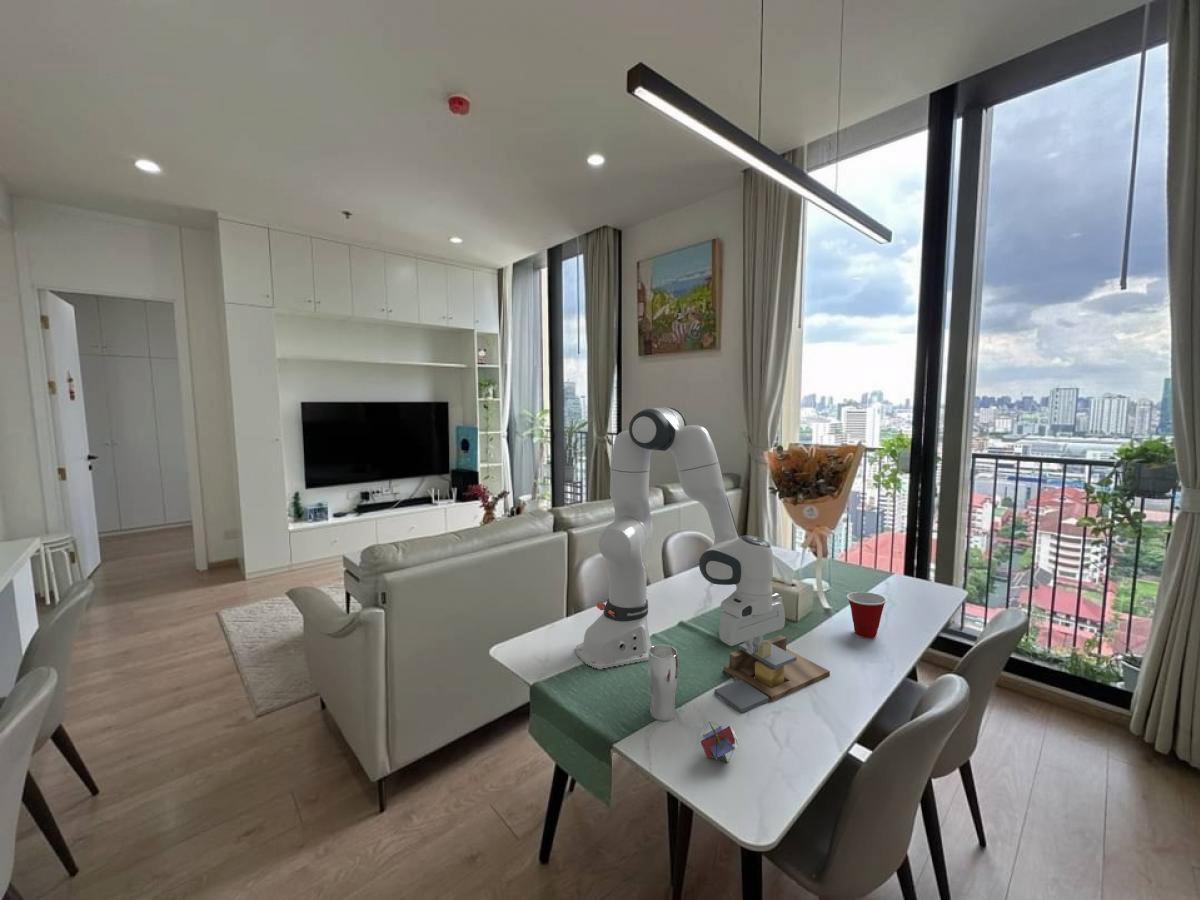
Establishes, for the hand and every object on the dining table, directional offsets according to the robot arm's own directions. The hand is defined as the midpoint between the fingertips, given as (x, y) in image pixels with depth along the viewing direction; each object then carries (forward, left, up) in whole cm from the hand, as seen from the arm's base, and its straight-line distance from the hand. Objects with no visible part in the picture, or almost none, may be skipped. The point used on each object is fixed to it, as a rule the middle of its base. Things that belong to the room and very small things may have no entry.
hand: (752, 652), depth 126 cm
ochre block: (+3, -3, -8) cm, 9 cm away
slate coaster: (-8, -4, -8) cm, 12 cm away
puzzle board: (+8, -1, -8) cm, 11 cm away
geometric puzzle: (-27, -16, -8) cm, 32 cm away
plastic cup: (+49, 0, -8) cm, 50 cm away
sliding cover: (+5, 0, -2) cm, 6 cm away
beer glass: (-28, +1, -8) cm, 29 cm away
